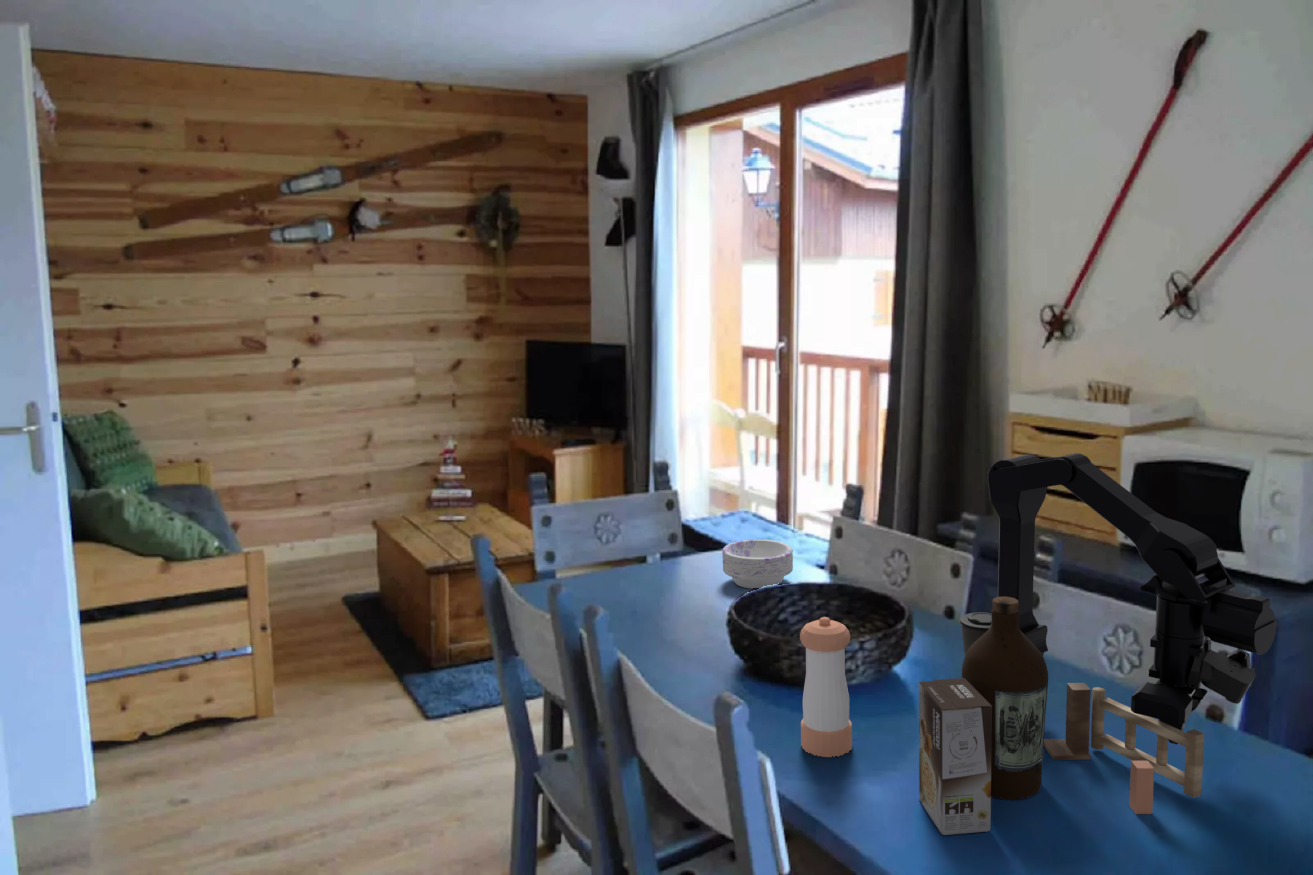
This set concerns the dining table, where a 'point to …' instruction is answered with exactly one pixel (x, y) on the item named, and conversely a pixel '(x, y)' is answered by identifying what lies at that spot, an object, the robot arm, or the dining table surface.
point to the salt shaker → (825, 690)
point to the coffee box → (955, 755)
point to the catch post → (1141, 787)
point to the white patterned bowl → (757, 562)
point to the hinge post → (1073, 726)
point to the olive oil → (1011, 700)
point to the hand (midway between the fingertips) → (1173, 743)
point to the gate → (1164, 732)
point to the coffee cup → (974, 627)
